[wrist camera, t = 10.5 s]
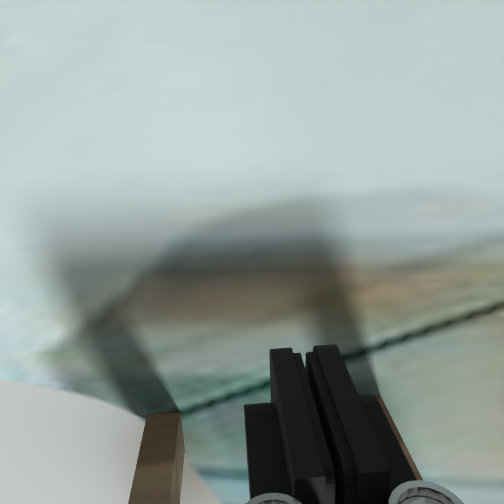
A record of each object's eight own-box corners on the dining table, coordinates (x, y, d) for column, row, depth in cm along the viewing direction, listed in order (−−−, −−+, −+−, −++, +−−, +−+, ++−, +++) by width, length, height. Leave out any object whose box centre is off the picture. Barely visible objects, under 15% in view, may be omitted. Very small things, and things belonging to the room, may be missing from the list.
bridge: (147, 414, 28) (115, 564, 19) (380, 396, 29) (449, 533, 20) (153, 452, 29) (125, 610, 21) (378, 434, 30) (442, 579, 21)
